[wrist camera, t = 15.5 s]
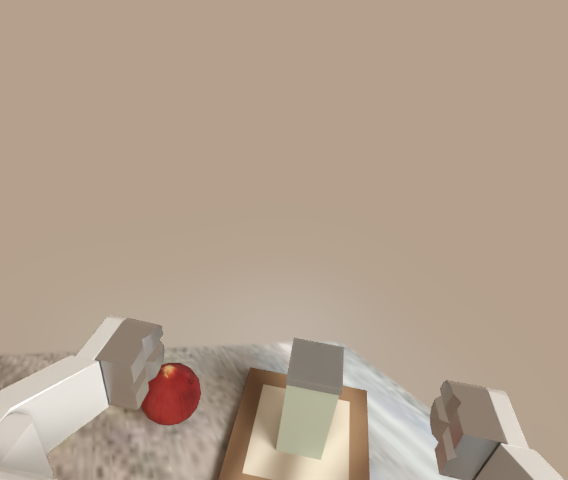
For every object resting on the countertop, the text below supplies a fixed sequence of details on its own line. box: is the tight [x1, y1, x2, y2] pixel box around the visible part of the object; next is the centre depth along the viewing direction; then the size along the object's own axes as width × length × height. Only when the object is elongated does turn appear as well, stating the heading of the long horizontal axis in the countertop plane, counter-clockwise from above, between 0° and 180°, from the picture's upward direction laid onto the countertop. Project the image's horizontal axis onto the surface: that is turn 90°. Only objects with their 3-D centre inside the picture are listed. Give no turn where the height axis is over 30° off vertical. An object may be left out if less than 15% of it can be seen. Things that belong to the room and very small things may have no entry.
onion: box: [141, 363, 201, 425], centre depth 39 cm, size 6×6×8 cm
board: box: [218, 368, 370, 480], centre depth 40 cm, size 14×14×1 cm
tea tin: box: [276, 338, 344, 460], centre depth 37 cm, size 5×5×11 cm
